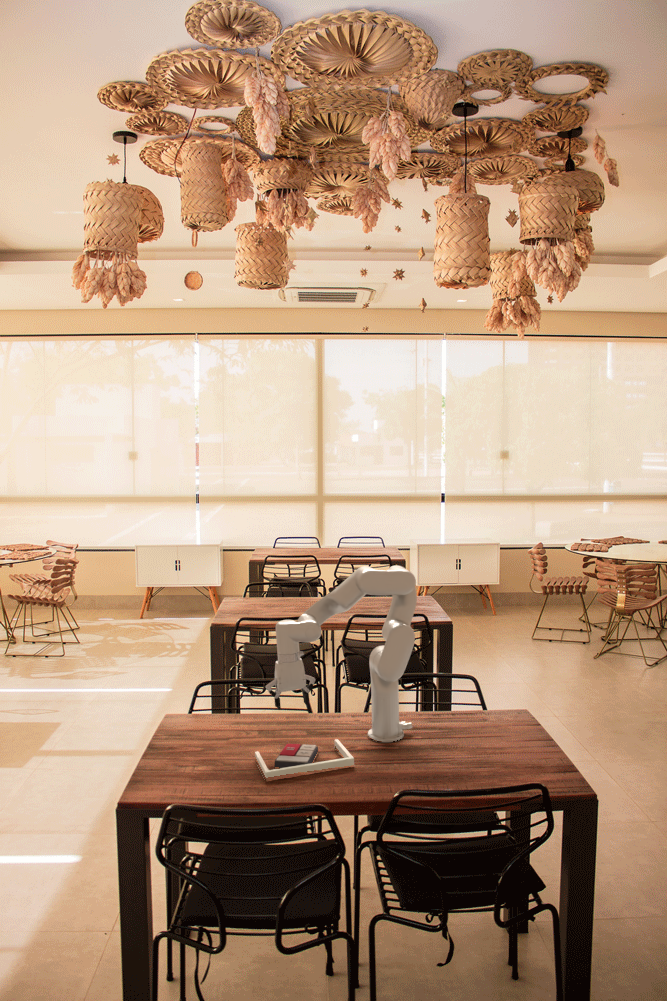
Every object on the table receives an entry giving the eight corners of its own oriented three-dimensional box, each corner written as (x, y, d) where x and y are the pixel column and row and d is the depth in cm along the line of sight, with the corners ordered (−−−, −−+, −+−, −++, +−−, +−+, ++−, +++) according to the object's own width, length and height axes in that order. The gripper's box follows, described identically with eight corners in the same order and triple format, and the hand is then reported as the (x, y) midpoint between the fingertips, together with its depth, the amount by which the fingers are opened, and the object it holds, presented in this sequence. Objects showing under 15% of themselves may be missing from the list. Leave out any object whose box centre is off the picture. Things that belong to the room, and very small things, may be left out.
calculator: (318, 743, 235) (308, 760, 221) (318, 756, 235) (308, 774, 221) (286, 742, 237) (274, 758, 223) (286, 755, 237) (274, 772, 223)
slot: (338, 747, 240) (337, 739, 239) (354, 767, 224) (353, 758, 224) (255, 760, 231) (254, 751, 231) (266, 782, 216) (265, 772, 215)
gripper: (310, 650, 248) (313, 698, 249) (261, 657, 242) (265, 706, 244) (316, 655, 241) (319, 705, 242) (266, 663, 235) (270, 714, 236)
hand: (292, 705), depth 243 cm, fingers open, 9 cm apart
